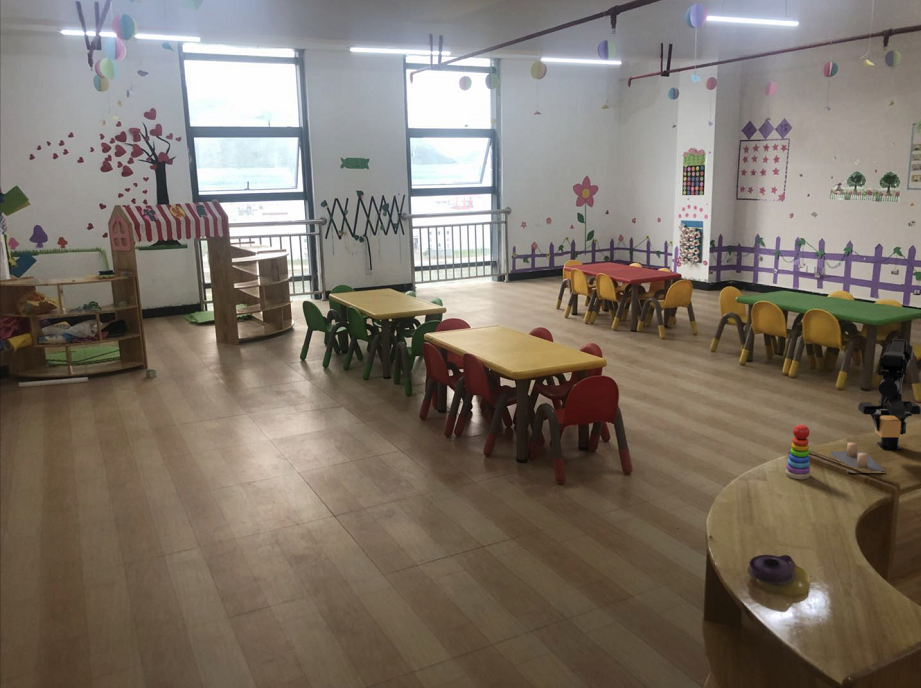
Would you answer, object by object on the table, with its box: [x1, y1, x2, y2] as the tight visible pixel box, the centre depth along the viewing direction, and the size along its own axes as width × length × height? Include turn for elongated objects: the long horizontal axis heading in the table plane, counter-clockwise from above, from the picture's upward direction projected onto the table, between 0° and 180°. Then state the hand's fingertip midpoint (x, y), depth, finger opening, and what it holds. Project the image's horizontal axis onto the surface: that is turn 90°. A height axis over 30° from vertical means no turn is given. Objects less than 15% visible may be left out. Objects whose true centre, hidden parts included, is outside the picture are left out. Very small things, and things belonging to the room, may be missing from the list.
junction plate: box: [829, 441, 886, 473], centre depth 263 cm, size 18×12×6 cm, turn 172°
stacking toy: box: [785, 424, 811, 480], centre depth 255 cm, size 8×8×19 cm
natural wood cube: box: [874, 416, 902, 438], centre depth 263 cm, size 6×6×6 cm
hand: (887, 431), depth 263 cm, fingers closed on natural wood cube, 6 cm apart
